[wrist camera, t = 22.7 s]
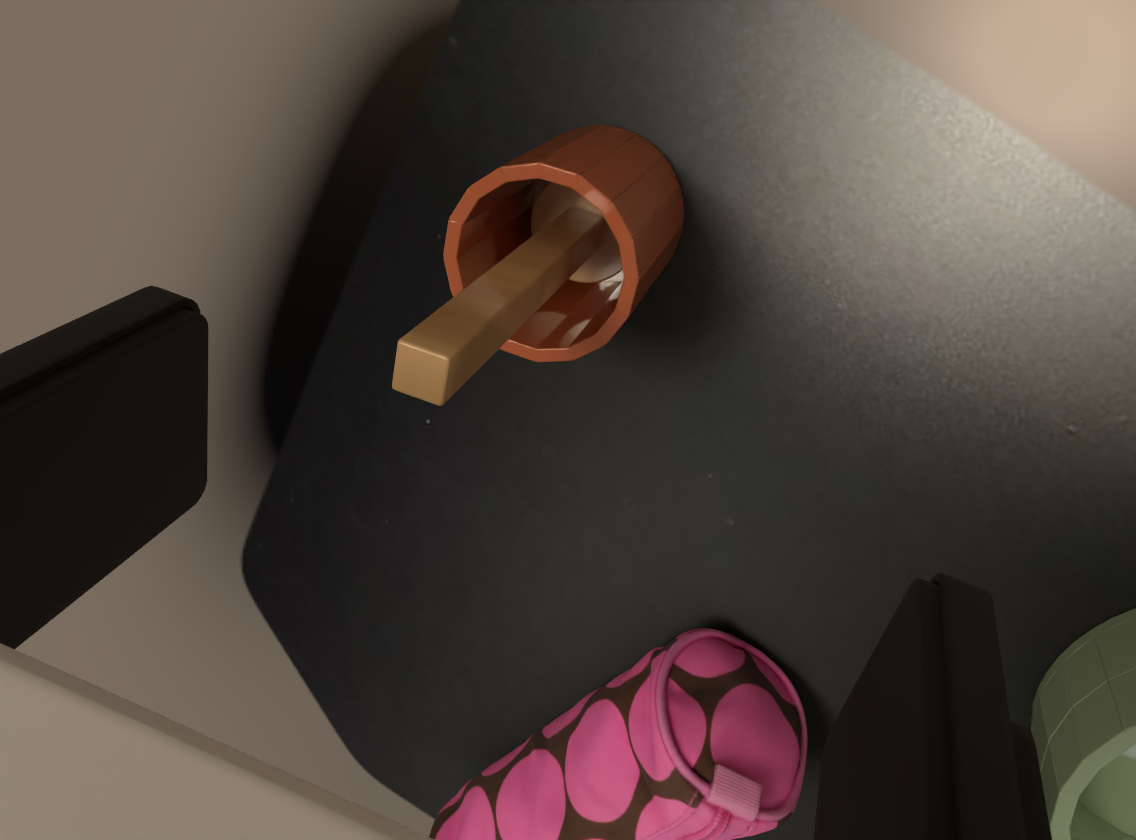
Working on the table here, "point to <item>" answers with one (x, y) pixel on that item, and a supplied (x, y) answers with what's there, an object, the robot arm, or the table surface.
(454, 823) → the pencil case
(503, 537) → the table surface
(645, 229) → the crock
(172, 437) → the robot arm
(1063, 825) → the bowl
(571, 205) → the wooden post with base
